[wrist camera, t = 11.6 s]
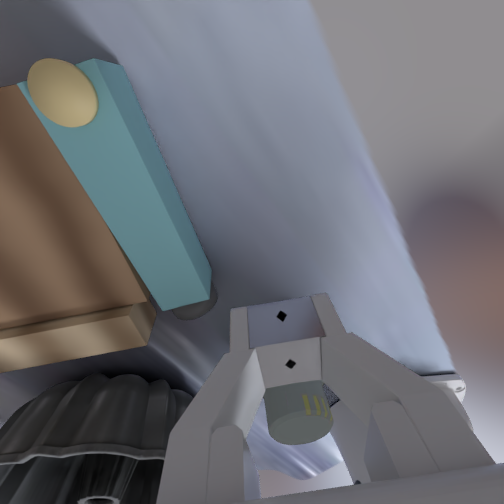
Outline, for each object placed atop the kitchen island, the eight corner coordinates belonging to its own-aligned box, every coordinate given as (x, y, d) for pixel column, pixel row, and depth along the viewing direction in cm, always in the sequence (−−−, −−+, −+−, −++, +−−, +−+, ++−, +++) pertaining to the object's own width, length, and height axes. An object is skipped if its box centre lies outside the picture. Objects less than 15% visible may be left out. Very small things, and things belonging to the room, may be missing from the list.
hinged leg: (56, 78, 15) (-2, 73, 12) (121, 57, 15) (84, 44, 11) (177, 292, 25) (168, 330, 21) (218, 281, 25) (216, 317, 21)
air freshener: (282, 296, 27) (307, 387, 19) (336, 322, 30) (379, 411, 22) (228, 353, 31) (229, 449, 23) (280, 371, 34) (297, 462, 26)
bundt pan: (199, 453, 46) (193, 534, 37) (29, 446, 39) (-25, 543, 31) (245, 363, 33) (252, 457, 25) (5, 332, 27) (-97, 444, 18)
